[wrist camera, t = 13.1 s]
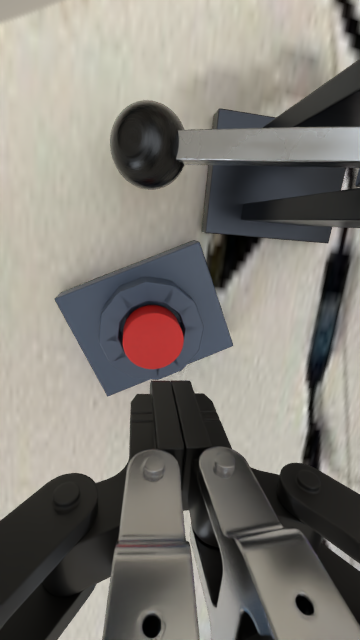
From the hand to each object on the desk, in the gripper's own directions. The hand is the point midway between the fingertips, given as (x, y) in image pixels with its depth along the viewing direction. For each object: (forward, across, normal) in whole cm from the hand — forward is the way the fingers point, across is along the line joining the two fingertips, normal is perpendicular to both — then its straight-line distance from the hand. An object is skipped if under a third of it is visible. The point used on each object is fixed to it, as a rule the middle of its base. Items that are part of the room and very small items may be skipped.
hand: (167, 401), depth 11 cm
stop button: (+8, 0, 0) cm, 8 cm away
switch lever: (+4, -4, -10) cm, 11 cm away
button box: (+11, 0, 0) cm, 11 cm away
